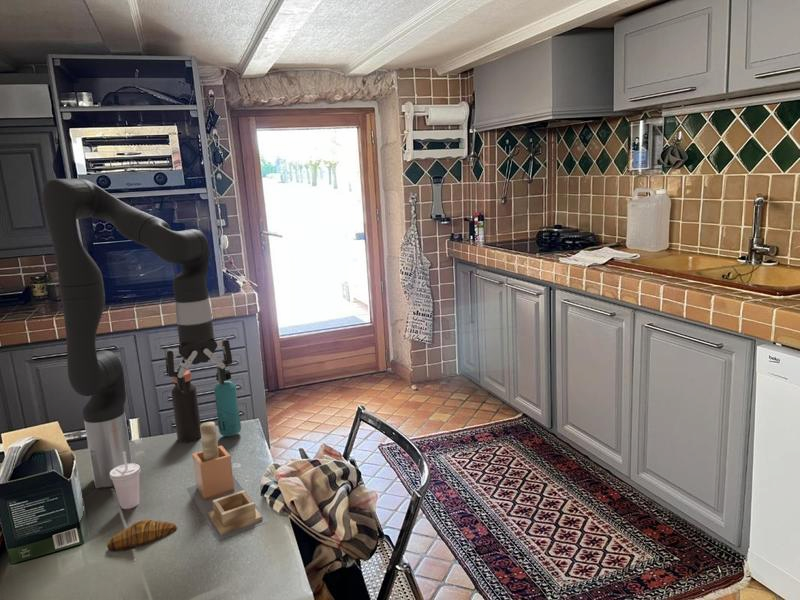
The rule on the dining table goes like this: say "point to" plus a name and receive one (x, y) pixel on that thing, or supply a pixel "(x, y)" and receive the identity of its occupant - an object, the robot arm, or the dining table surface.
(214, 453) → the dowel
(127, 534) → the croissant
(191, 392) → the vinegar
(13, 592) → the dining table surface
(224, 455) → the deep cup
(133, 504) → the smoothie
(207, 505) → the slate board
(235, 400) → the beverage bottle
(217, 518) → the short stand
